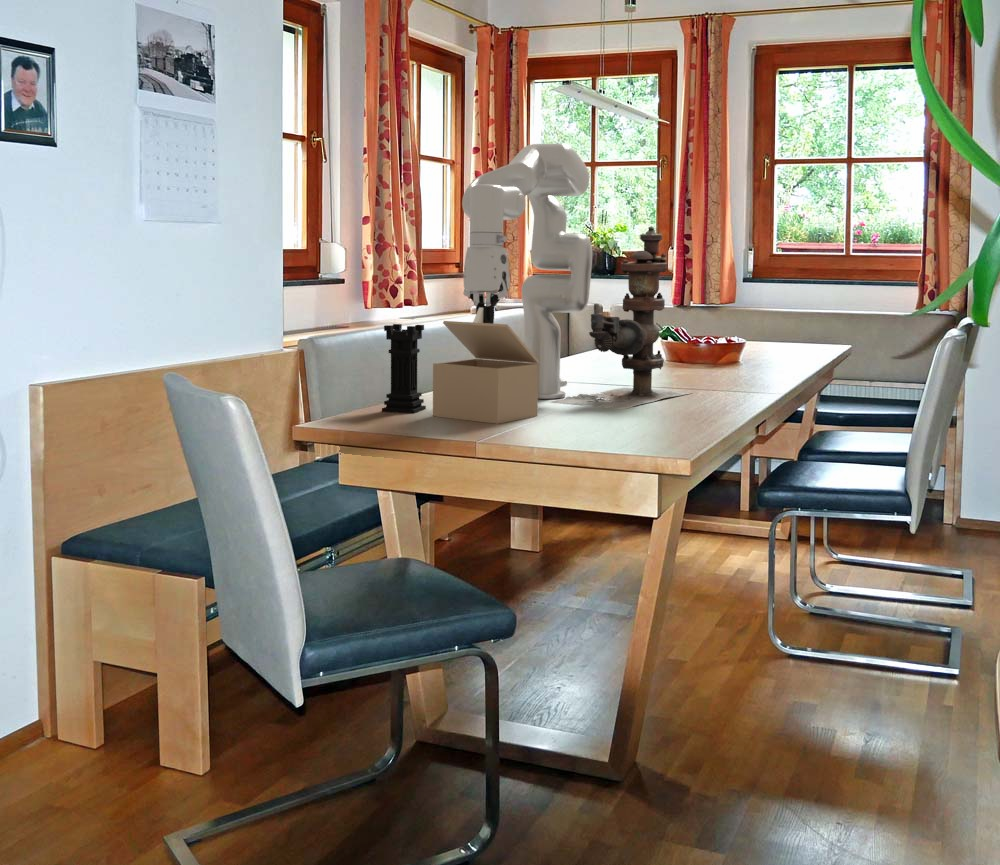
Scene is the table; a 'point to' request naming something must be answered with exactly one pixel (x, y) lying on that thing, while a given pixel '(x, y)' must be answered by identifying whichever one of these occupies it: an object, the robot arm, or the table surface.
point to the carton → (485, 390)
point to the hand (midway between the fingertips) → (484, 323)
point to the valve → (633, 331)
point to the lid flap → (490, 340)
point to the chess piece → (403, 369)
